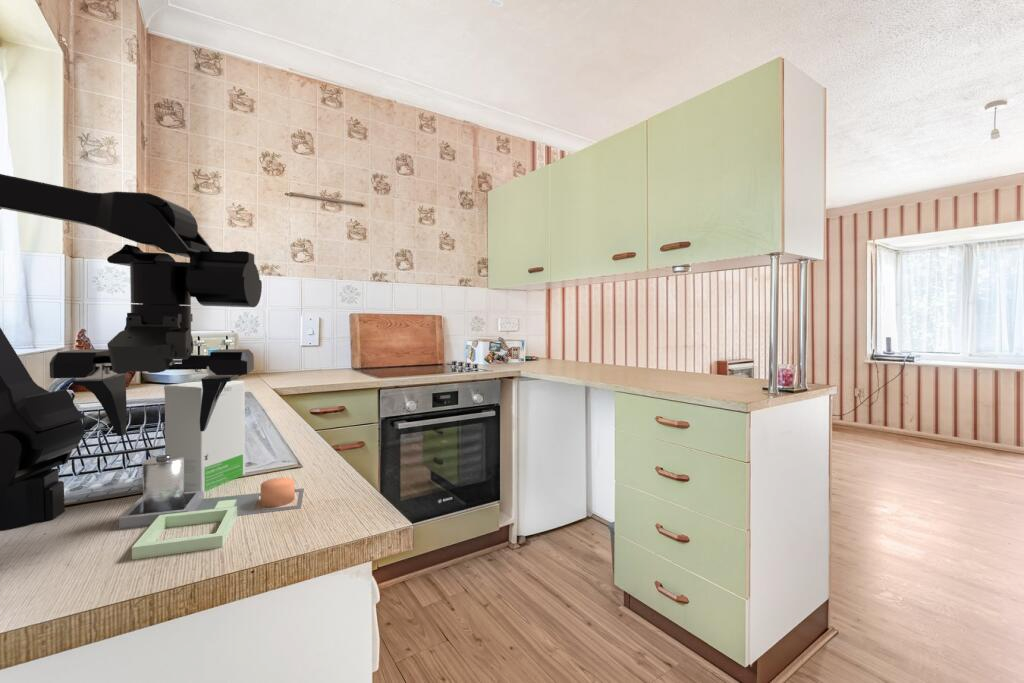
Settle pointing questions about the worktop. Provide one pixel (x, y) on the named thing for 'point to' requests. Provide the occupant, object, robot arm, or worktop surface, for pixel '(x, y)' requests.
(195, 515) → the pale green square tray
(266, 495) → the cylinder
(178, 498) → the cell
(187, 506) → the checker plate
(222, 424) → the skincare box
